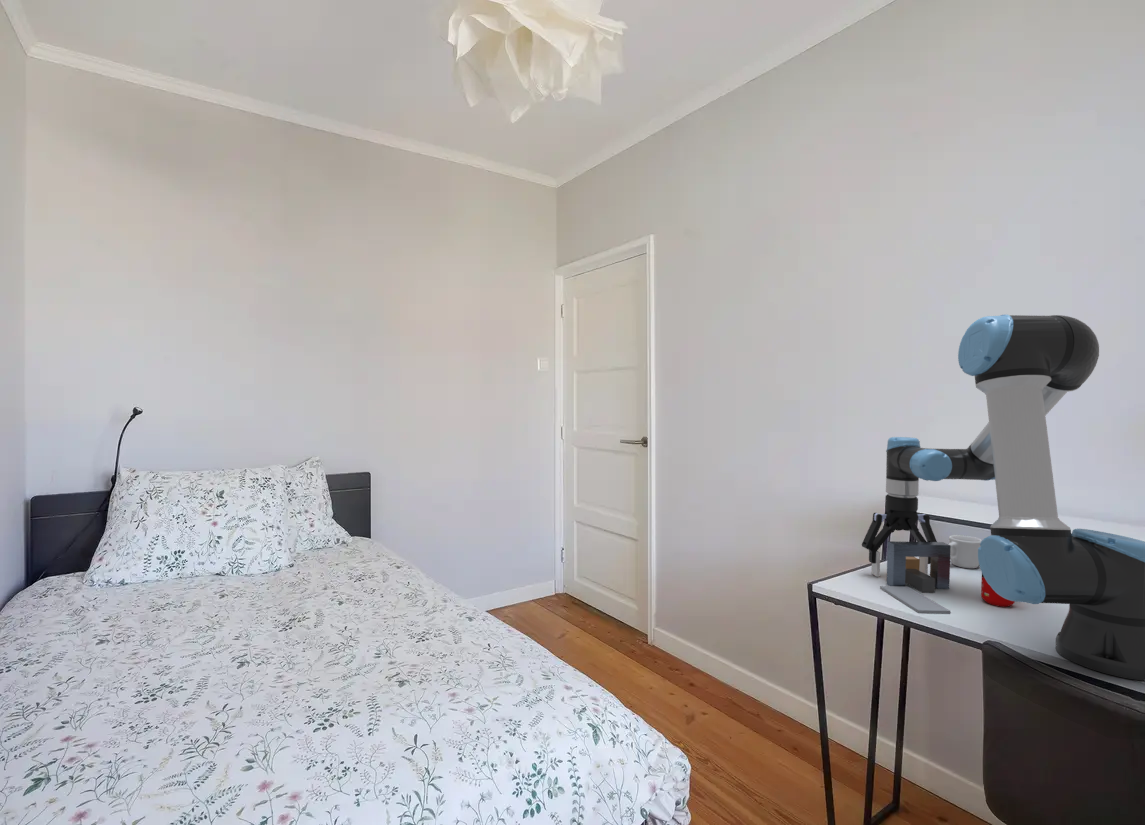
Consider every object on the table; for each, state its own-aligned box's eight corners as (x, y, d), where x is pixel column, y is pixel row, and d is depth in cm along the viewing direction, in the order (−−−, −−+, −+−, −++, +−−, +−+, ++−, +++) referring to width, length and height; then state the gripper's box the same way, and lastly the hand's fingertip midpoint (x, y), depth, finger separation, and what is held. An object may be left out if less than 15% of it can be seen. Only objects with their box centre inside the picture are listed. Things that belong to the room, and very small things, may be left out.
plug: (938, 593, 138) (939, 568, 138) (918, 592, 138) (918, 568, 138) (907, 576, 151) (908, 553, 151) (889, 575, 151) (889, 553, 151)
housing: (949, 588, 141) (950, 545, 141) (893, 588, 141) (894, 544, 141) (941, 584, 144) (942, 542, 144) (886, 584, 144) (887, 541, 144)
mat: (950, 613, 125) (950, 610, 125) (918, 613, 125) (918, 610, 125) (908, 588, 141) (908, 586, 141) (880, 588, 141) (880, 586, 141)
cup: (958, 571, 155) (959, 543, 155) (933, 563, 163) (934, 536, 163) (989, 569, 158) (990, 541, 158) (963, 561, 166) (964, 534, 165)
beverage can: (1004, 599, 134) (1006, 549, 134) (1021, 609, 128) (1022, 556, 128) (975, 597, 135) (976, 547, 135) (990, 607, 129) (992, 555, 129)
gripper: (938, 493, 154) (935, 571, 155) (849, 492, 154) (847, 570, 155) (956, 498, 146) (954, 580, 147) (863, 497, 147) (860, 579, 147)
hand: (899, 575), depth 151 cm, fingers open, 12 cm apart
